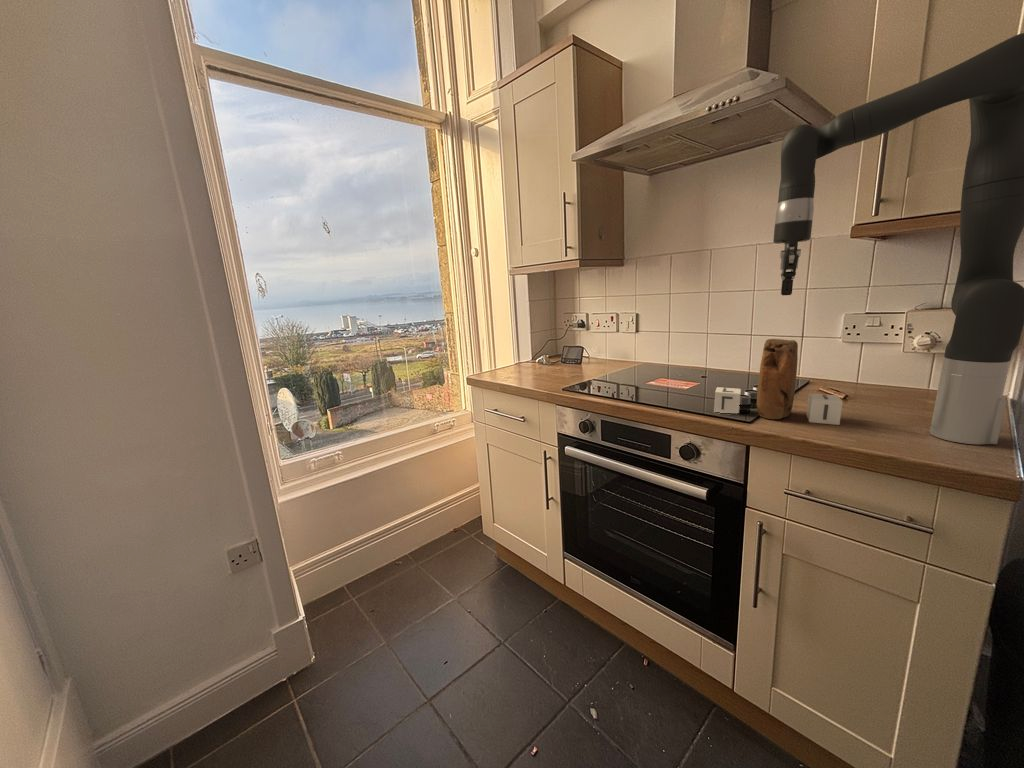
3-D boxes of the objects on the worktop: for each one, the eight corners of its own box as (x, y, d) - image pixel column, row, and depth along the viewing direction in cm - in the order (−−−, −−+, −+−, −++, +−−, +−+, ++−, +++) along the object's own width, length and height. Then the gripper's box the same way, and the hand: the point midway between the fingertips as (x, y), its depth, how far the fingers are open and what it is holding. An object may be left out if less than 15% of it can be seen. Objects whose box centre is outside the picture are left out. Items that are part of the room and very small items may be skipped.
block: (762, 408, 115) (769, 337, 111) (794, 412, 110) (802, 338, 106) (751, 417, 108) (758, 341, 103) (785, 423, 103) (794, 343, 98)
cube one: (835, 418, 105) (838, 394, 104) (839, 425, 100) (842, 400, 98) (806, 415, 108) (809, 392, 107) (809, 422, 103) (812, 398, 101)
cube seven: (739, 409, 116) (740, 388, 114) (738, 415, 110) (740, 393, 109) (715, 407, 118) (716, 386, 117) (713, 413, 113) (715, 391, 112)
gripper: (816, 215, 91) (807, 295, 95) (809, 222, 102) (801, 293, 106) (776, 219, 95) (769, 296, 99) (773, 226, 106) (767, 294, 110)
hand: (786, 295), depth 102 cm, fingers closed
